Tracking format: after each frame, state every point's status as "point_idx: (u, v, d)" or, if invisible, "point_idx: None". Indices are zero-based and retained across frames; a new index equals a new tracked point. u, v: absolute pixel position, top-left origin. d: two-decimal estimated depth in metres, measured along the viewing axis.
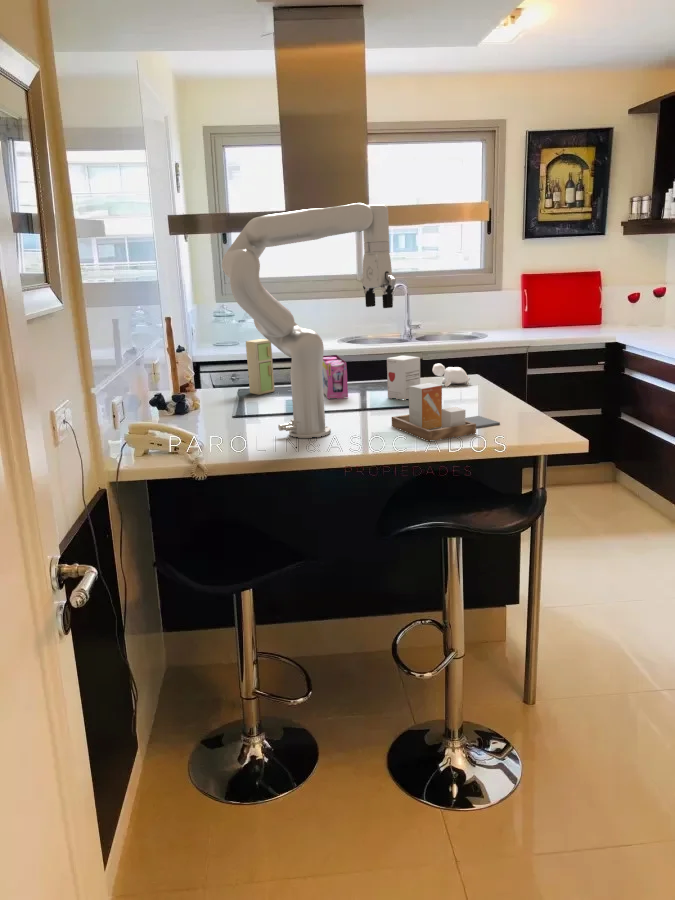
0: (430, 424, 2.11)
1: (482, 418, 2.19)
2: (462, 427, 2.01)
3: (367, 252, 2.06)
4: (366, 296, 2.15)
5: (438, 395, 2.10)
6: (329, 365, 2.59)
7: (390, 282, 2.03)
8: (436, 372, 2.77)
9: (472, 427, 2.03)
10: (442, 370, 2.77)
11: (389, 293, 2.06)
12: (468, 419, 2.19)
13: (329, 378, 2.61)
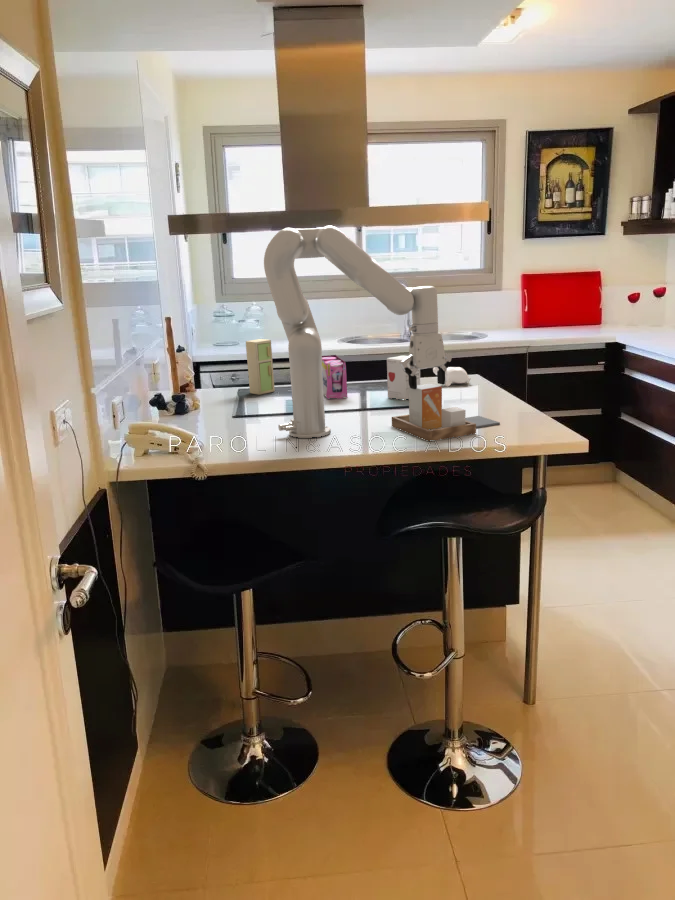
0: (430, 424, 2.11)
1: (482, 418, 2.19)
2: (462, 427, 2.01)
3: (433, 332, 2.03)
4: (415, 378, 2.07)
5: (438, 396, 2.10)
6: (328, 365, 2.59)
7: (450, 358, 2.11)
8: None
9: (472, 427, 2.03)
10: None
11: None
12: (468, 419, 2.19)
13: (328, 378, 2.61)
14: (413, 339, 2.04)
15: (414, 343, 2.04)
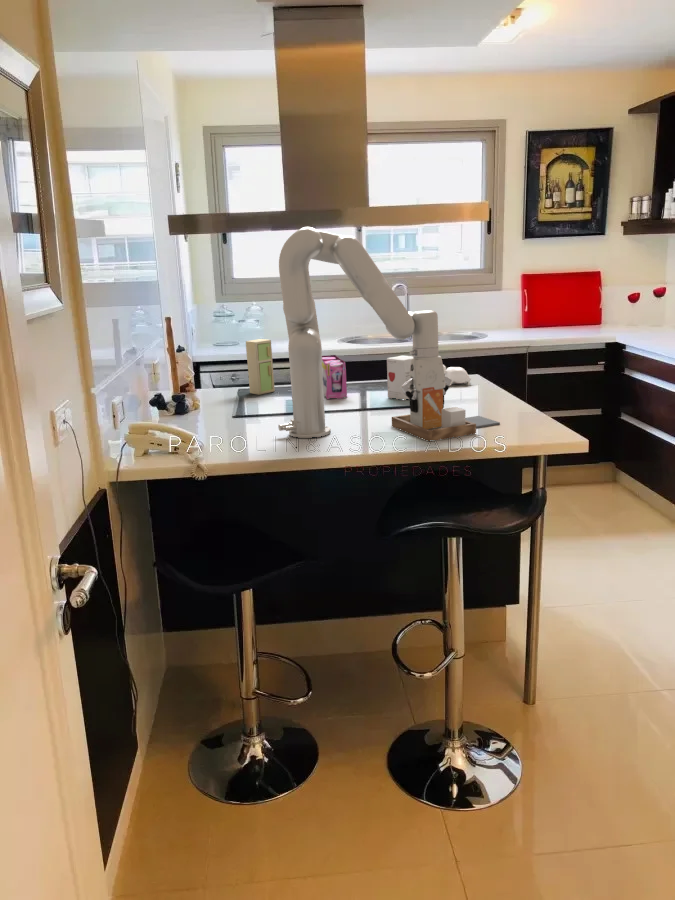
0: (431, 423, 2.11)
1: (482, 418, 2.19)
2: (462, 427, 2.01)
3: (434, 356, 2.05)
4: (416, 402, 2.09)
5: (439, 395, 2.10)
6: (328, 365, 2.59)
7: (449, 382, 2.13)
8: None
9: (472, 427, 2.03)
10: None
11: None
12: (468, 419, 2.19)
13: (328, 378, 2.61)
14: (413, 363, 2.06)
15: (414, 367, 2.06)
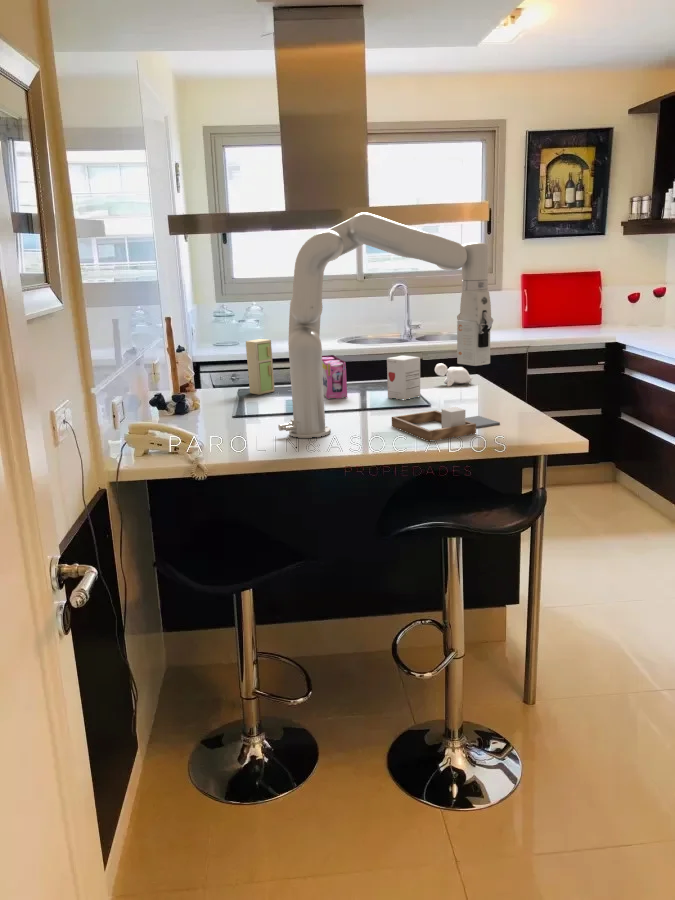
0: None
1: (482, 418, 2.19)
2: (462, 427, 2.01)
3: None
4: None
5: None
6: (328, 365, 2.59)
7: None
8: (438, 372, 2.77)
9: (472, 427, 2.03)
10: (445, 370, 2.77)
11: None
12: (468, 419, 2.19)
13: (328, 378, 2.61)
14: (486, 295, 2.02)
15: (488, 299, 2.03)
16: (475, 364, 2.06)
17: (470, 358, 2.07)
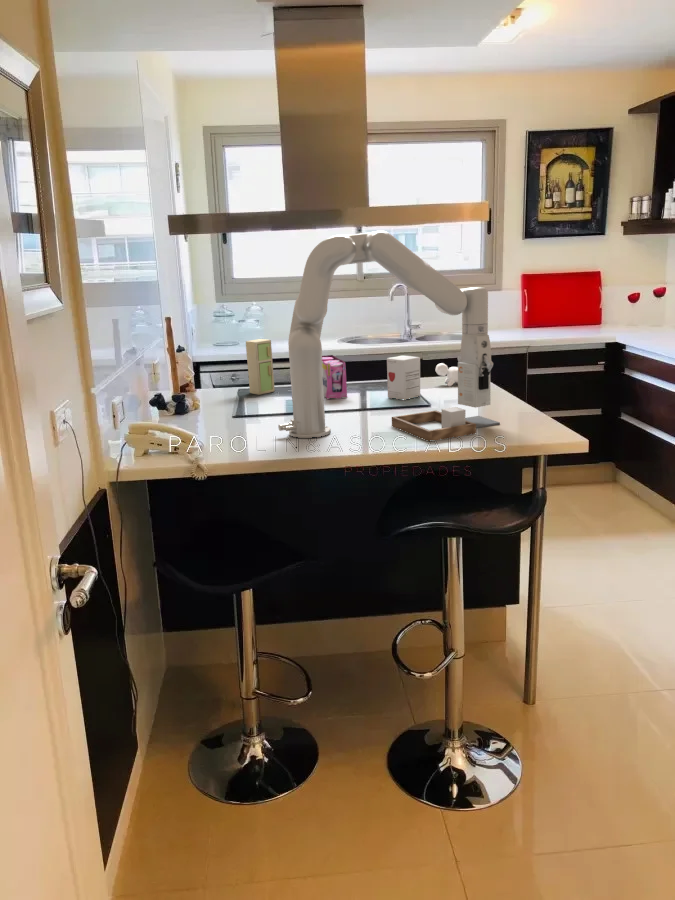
0: None
1: (482, 418, 2.19)
2: (462, 427, 2.01)
3: None
4: None
5: None
6: (328, 365, 2.59)
7: None
8: (439, 372, 2.77)
9: (472, 427, 2.03)
10: (445, 370, 2.77)
11: None
12: (468, 419, 2.19)
13: (328, 378, 2.61)
14: (486, 339, 2.05)
15: (488, 342, 2.06)
16: (476, 406, 2.10)
17: (471, 400, 2.10)
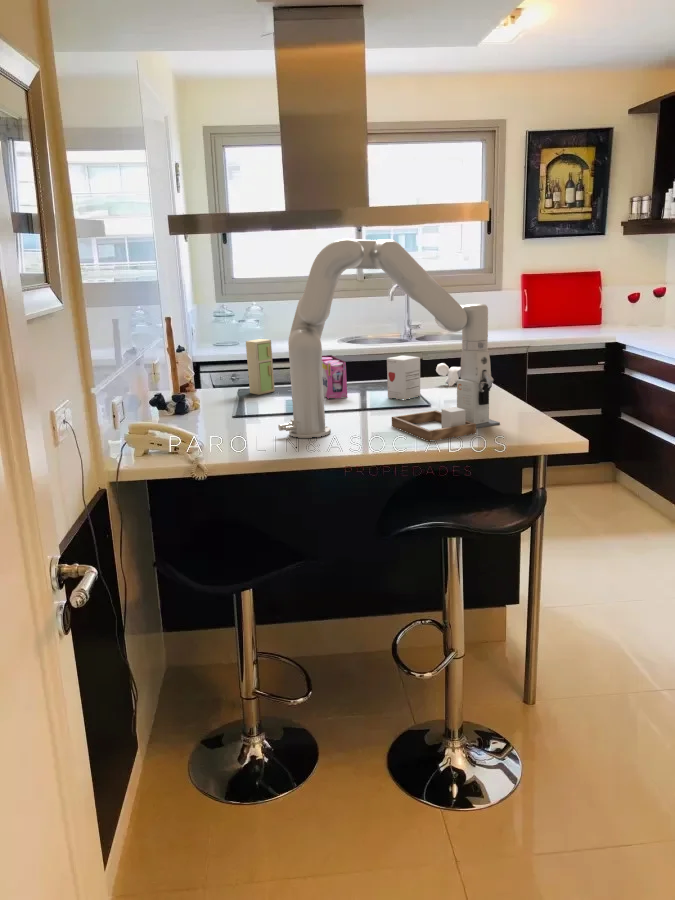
0: None
1: None
2: (462, 427, 2.01)
3: None
4: None
5: None
6: (329, 365, 2.59)
7: None
8: (440, 372, 2.77)
9: (472, 427, 2.03)
10: (446, 370, 2.77)
11: None
12: None
13: (329, 378, 2.61)
14: (486, 355, 2.07)
15: (488, 358, 2.07)
16: None
17: (469, 417, 2.12)
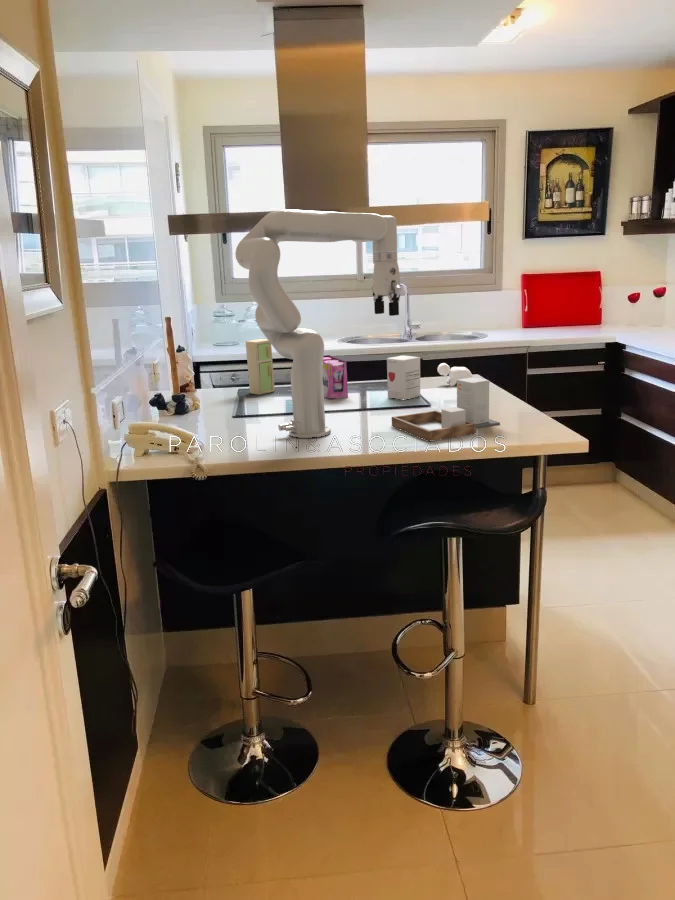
0: None
1: None
2: (462, 427, 2.01)
3: None
4: None
5: None
6: (330, 365, 2.59)
7: None
8: (441, 372, 2.77)
9: (472, 427, 2.03)
10: (447, 369, 2.77)
11: None
12: None
13: (330, 378, 2.61)
14: (394, 266, 2.12)
15: (397, 269, 2.13)
16: None
17: (469, 417, 2.12)
